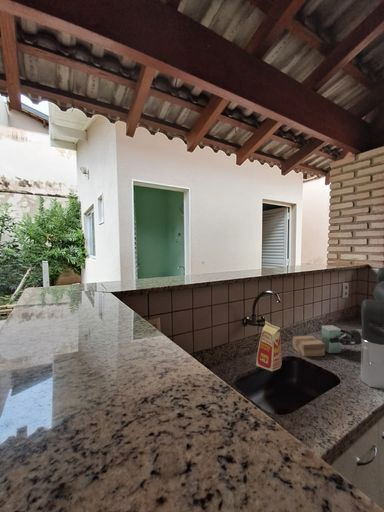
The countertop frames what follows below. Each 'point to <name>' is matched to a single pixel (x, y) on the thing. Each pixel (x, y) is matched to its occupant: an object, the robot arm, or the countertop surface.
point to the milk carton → (269, 348)
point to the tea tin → (328, 333)
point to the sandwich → (308, 346)
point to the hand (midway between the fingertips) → (326, 338)
